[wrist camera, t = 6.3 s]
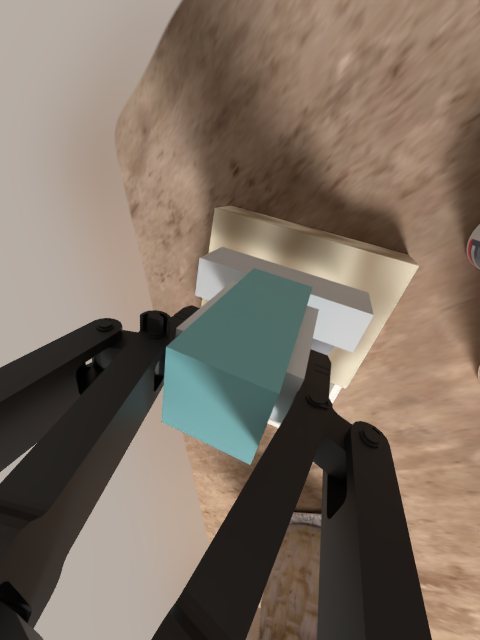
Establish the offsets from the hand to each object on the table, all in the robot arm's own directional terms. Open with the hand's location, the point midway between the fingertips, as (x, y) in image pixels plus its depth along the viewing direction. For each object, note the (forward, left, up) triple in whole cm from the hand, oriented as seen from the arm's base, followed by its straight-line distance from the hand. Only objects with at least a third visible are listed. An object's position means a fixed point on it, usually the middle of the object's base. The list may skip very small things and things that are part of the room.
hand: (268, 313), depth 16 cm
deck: (0, +3, -13) cm, 14 cm away
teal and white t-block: (0, 0, -6) cm, 6 cm away
